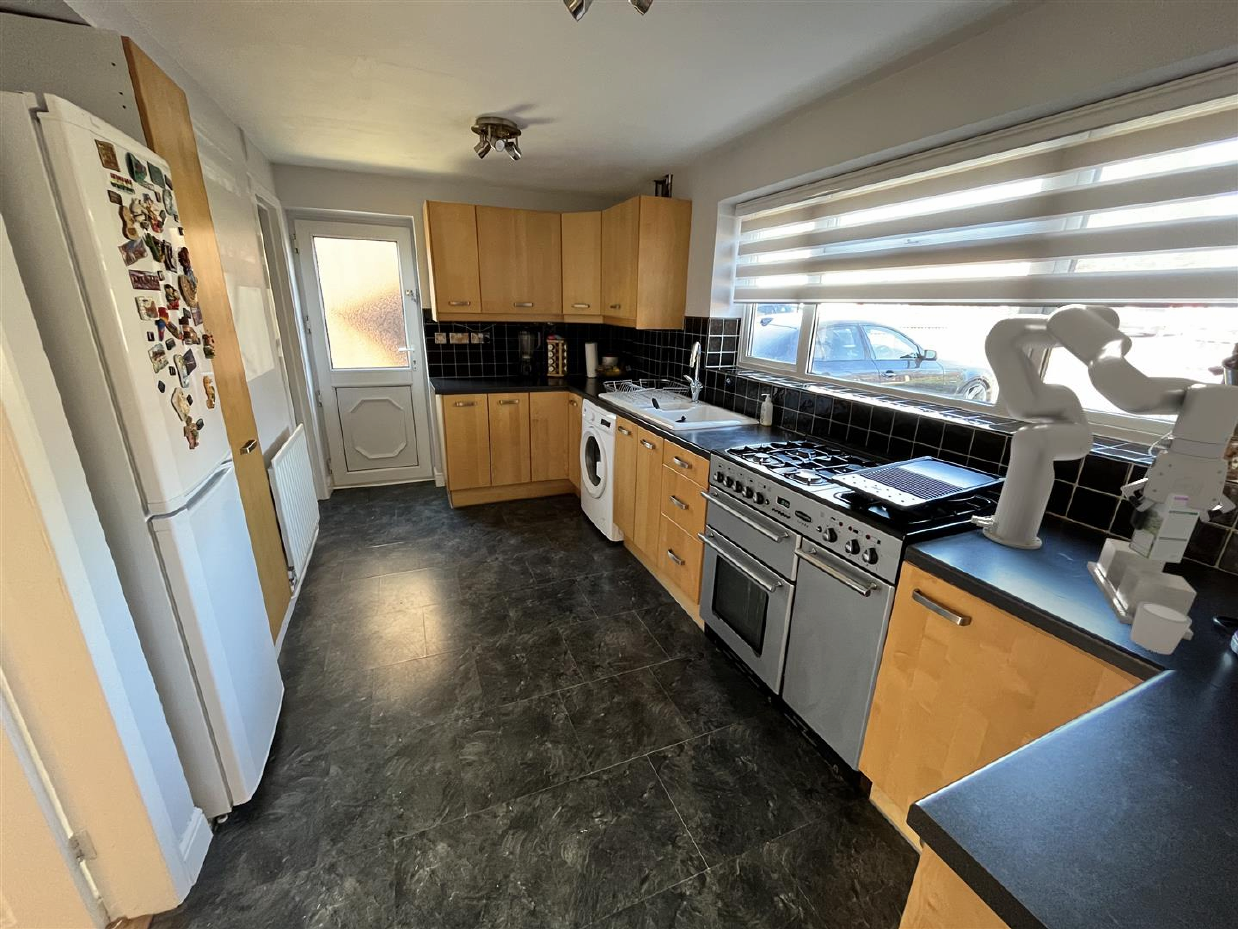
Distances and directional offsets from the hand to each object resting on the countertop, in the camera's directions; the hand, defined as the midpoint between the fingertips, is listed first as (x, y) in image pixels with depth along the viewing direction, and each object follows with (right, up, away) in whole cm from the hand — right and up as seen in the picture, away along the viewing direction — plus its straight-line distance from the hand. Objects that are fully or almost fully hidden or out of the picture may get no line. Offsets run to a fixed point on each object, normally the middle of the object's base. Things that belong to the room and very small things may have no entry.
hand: (1161, 531), depth 102 cm
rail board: (-1, -15, +5) cm, 16 cm away
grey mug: (-12, -20, -9) cm, 25 cm away
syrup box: (0, -5, +2) cm, 5 cm away
